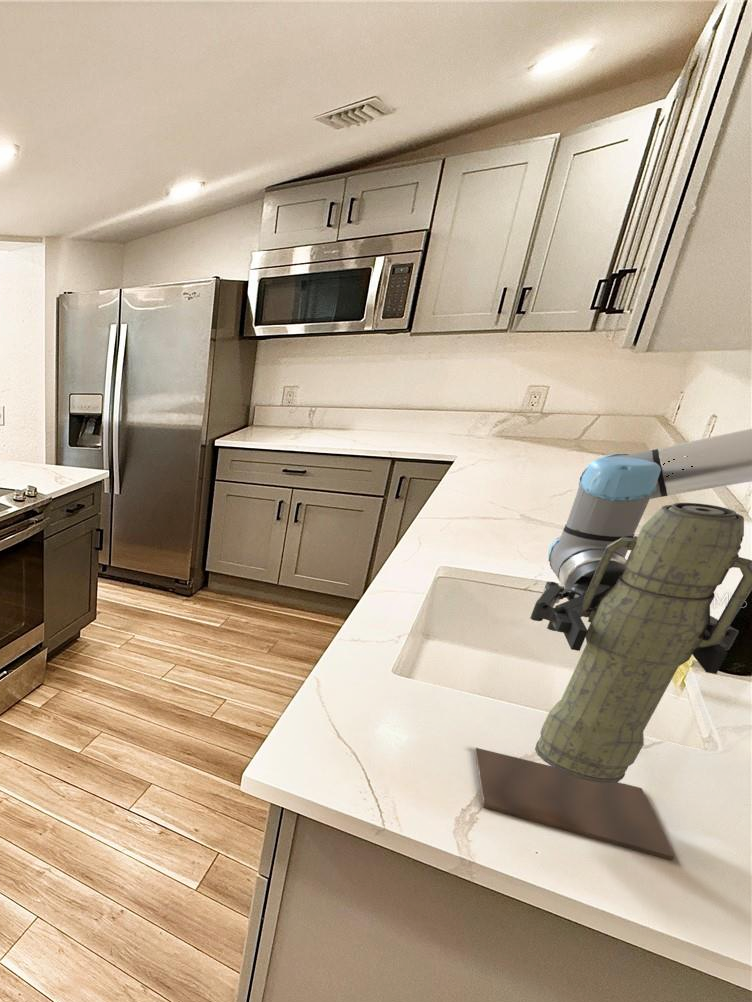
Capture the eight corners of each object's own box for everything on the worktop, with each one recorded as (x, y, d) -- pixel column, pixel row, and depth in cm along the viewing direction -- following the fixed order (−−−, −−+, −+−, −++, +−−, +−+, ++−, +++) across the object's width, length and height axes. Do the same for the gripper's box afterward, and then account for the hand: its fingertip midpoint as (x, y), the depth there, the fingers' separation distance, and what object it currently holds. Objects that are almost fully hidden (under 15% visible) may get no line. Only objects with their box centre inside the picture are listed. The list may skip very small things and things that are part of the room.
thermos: (641, 800, 75) (796, 530, 60) (515, 756, 83) (625, 508, 68) (643, 765, 80) (786, 509, 65) (525, 727, 88) (629, 491, 73)
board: (640, 791, 85) (641, 787, 84) (672, 860, 74) (674, 857, 74) (474, 750, 94) (475, 747, 94) (482, 807, 84) (484, 803, 84)
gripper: (707, 624, 83) (781, 705, 66) (488, 593, 95) (505, 655, 78) (733, 573, 80) (818, 645, 63) (504, 548, 92) (525, 603, 75)
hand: (645, 651), depth 71 cm, fingers closed on thermos, 10 cm apart
